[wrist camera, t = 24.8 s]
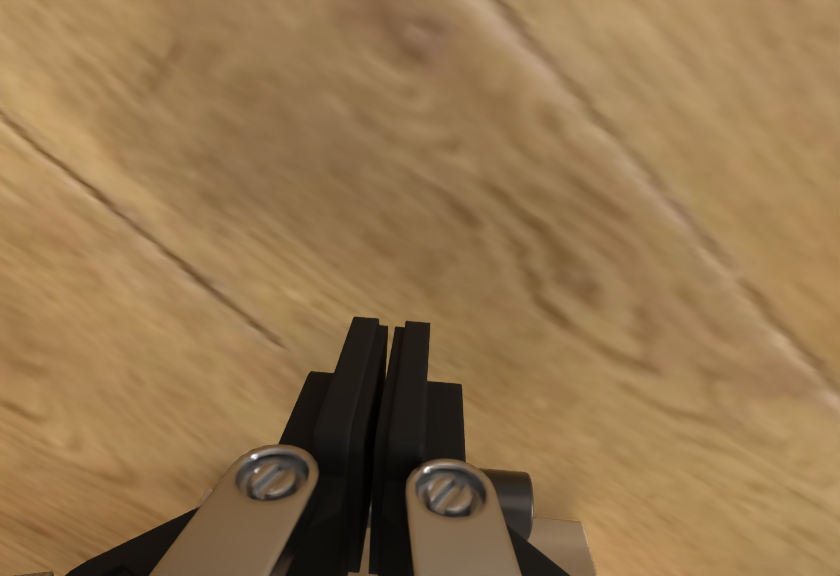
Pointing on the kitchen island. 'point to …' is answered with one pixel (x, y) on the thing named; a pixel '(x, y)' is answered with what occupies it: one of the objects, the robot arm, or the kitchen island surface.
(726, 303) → the kitchen island surface
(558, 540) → the drawer
